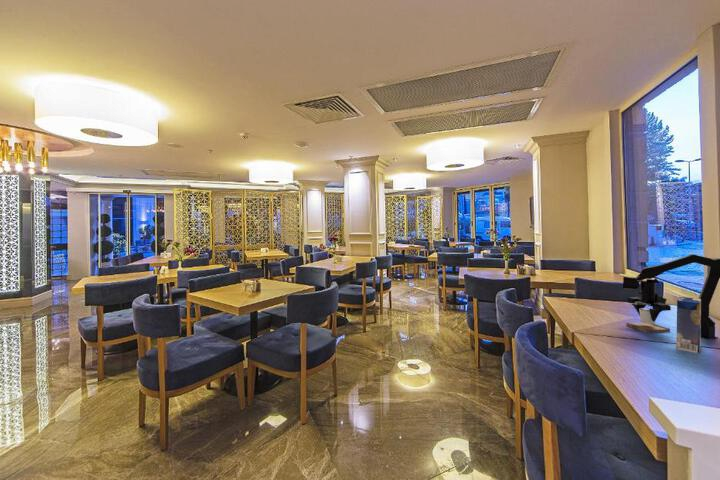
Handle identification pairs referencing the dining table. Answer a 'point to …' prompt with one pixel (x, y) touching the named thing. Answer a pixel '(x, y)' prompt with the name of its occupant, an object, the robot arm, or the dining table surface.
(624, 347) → the dining table surface
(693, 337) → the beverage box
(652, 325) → the serving board
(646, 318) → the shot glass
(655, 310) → the robot arm
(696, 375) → the dining table surface
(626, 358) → the dining table surface
